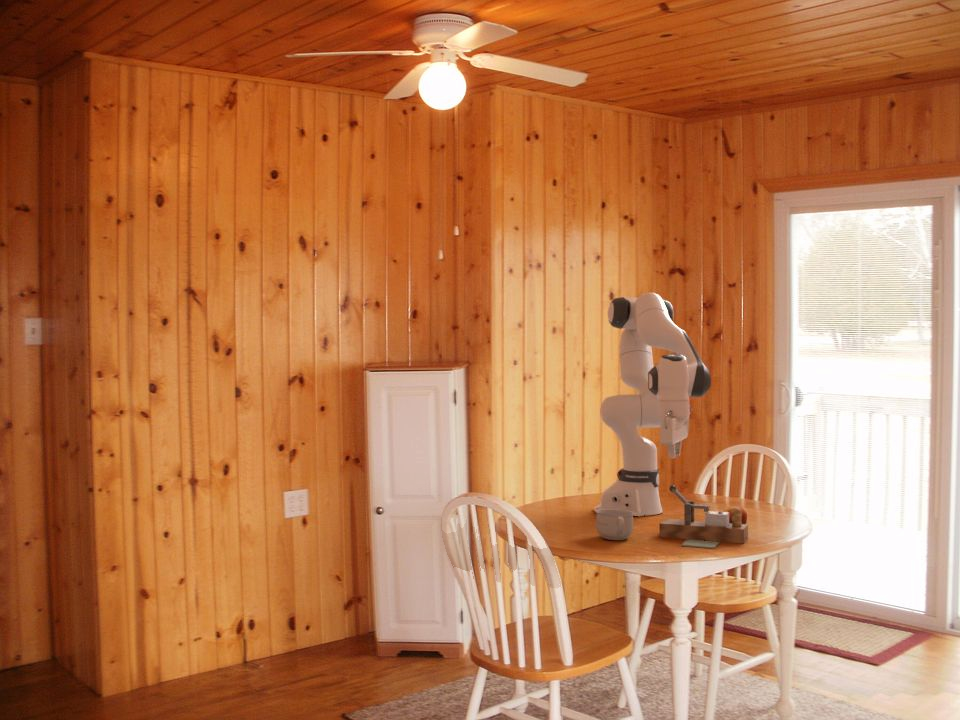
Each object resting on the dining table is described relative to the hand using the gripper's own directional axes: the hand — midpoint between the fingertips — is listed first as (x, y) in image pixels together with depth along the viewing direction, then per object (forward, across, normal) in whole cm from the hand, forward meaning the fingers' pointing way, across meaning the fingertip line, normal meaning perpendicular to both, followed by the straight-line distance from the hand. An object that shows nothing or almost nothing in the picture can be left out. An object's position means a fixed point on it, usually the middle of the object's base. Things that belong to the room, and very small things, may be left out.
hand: (674, 457), depth 278 cm
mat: (+23, -9, -9) cm, 26 cm away
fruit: (+23, +15, -14) cm, 31 cm away
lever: (+15, 0, -4) cm, 16 cm away
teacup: (+23, -11, +15) cm, 30 cm away
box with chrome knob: (+19, 0, -12) cm, 23 cm away
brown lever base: (+23, 0, -8) cm, 25 cm away
